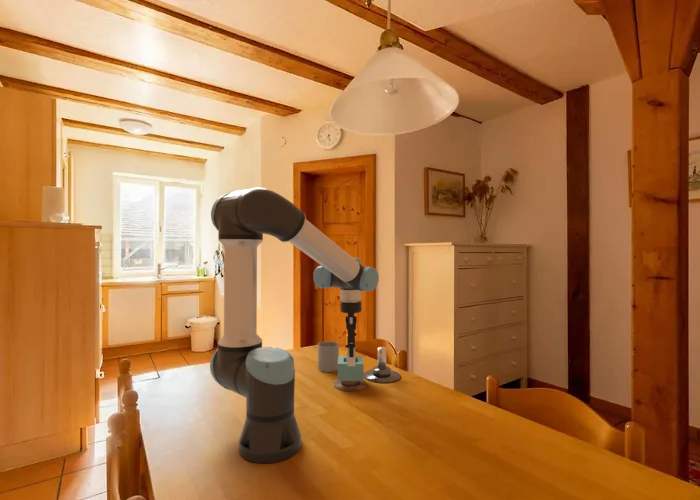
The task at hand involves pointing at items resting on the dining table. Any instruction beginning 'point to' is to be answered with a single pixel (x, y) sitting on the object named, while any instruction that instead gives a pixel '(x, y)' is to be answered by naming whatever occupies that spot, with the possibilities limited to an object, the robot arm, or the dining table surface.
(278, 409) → the robot arm
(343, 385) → the stand
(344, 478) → the dining table surface
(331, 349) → the cup
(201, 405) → the dining table surface
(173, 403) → the dining table surface
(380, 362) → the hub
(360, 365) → the teal square block
